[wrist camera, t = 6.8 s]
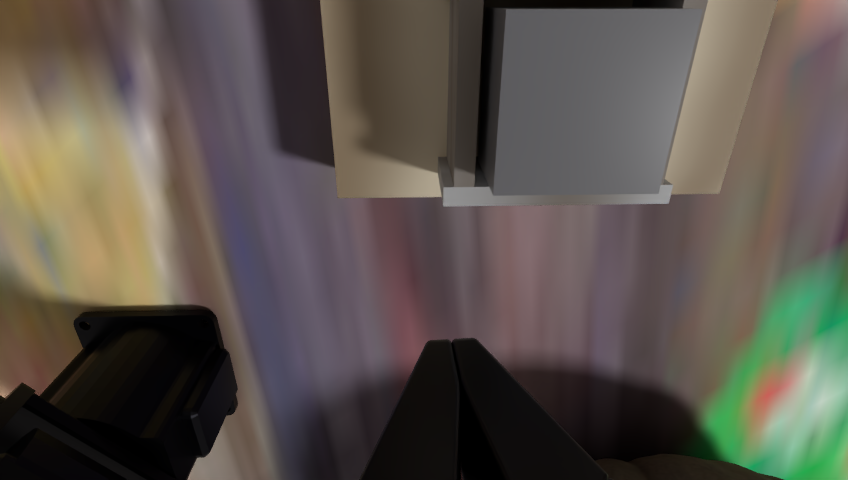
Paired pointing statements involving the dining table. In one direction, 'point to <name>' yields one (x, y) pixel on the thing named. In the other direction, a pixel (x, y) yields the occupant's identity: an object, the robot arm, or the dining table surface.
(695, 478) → the gourd
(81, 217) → the dining table surface
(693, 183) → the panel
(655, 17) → the dark grey square block
